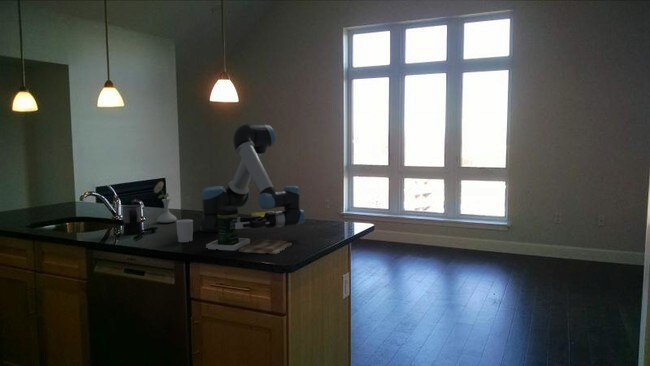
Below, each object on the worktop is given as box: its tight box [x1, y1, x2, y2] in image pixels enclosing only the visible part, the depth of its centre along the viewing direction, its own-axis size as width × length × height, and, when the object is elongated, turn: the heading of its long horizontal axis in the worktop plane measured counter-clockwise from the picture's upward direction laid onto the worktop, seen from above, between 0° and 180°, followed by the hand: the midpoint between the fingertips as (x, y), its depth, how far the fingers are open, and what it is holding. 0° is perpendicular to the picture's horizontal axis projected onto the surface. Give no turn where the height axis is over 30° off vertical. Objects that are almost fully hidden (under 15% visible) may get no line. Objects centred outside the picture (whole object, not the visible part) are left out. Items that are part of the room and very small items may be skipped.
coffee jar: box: [217, 206, 240, 246], centre depth 221 cm, size 10×8×19 cm
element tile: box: [251, 210, 275, 217], centre depth 289 cm, size 15×15×5 cm
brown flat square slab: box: [238, 239, 293, 255], centre depth 216 cm, size 18×18×2 cm
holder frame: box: [205, 237, 251, 251], centre depth 221 cm, size 14×16×2 cm
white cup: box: [175, 218, 194, 243], centre depth 233 cm, size 8×8×10 cm
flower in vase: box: [153, 180, 178, 224], centre depth 283 cm, size 13×11×25 cm
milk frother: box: [121, 204, 159, 236], centre depth 254 cm, size 14×16×15 cm
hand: (230, 223), depth 220 cm, fingers open, 13 cm apart
